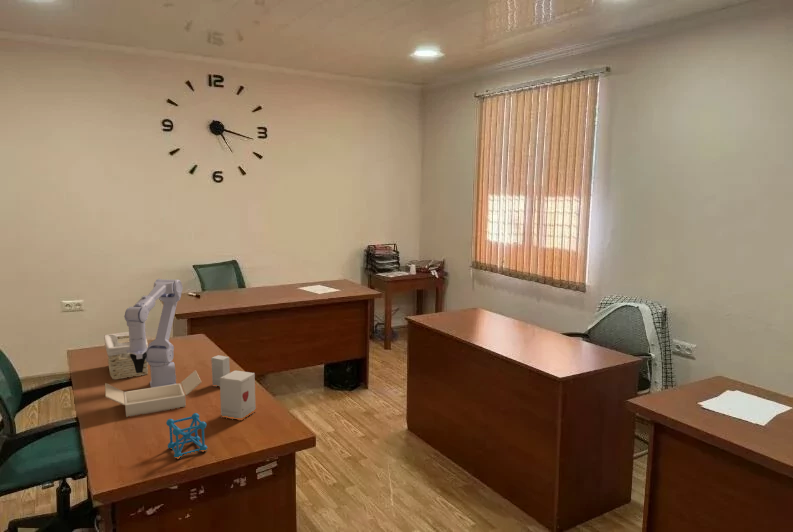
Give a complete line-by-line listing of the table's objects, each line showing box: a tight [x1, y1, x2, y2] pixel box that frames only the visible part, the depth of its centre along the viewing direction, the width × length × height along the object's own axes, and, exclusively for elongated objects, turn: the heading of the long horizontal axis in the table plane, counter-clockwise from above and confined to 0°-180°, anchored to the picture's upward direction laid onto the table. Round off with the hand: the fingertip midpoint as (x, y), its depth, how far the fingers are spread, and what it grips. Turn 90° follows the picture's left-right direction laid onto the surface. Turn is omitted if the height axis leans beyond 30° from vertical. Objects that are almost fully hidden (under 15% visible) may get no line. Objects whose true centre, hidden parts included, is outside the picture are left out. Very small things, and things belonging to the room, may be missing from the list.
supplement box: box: [219, 370, 256, 418], centre depth 200 cm, size 9×9×15 cm
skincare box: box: [210, 354, 231, 387], centre depth 229 cm, size 6×4×12 cm
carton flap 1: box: [104, 382, 125, 406], centre depth 203 cm, size 7×14×1 cm
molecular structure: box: [166, 412, 208, 458], centre depth 174 cm, size 10×10×10 cm
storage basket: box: [103, 331, 149, 380], centre depth 247 cm, size 24×16×15 cm
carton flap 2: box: [180, 370, 202, 396], centre depth 215 cm, size 7×14×1 cm
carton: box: [123, 382, 187, 418], centre depth 209 cm, size 20×14×4 cm
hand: (139, 372), depth 215 cm, fingers closed
